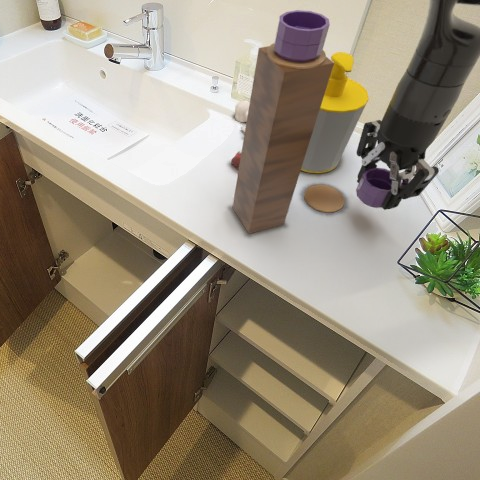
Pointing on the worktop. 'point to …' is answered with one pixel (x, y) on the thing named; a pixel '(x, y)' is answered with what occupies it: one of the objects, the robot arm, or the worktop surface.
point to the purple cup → (374, 186)
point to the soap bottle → (335, 117)
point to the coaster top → (295, 65)
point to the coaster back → (324, 198)
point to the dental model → (236, 159)
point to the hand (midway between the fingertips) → (374, 194)
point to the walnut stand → (276, 139)
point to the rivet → (243, 128)
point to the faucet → (242, 111)
